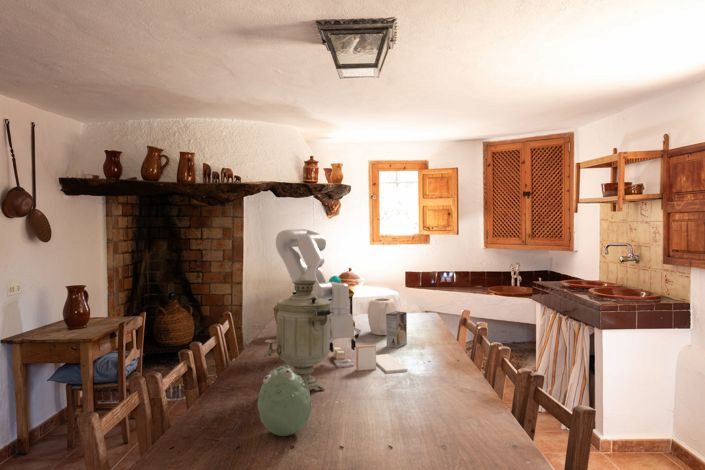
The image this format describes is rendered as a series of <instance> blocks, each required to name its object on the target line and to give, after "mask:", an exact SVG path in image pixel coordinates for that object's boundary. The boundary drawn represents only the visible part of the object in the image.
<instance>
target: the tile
mask: <svg viewBox="0 0 705 470" xmlns="http://www.w3.org/2000/svg"><path fill="white" fill-rule="evenodd" d="M355 350H356V351H355V353H356V354H355V358H356V359H355V364H356V365H355V370H356V371H357V372H363V371H364V370H365V371H374V370H375V371H377V364H376V355H377V345H376V344H364V345H361V344H360V345H356V347H355Z"/></svg>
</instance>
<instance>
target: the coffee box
mask: <svg viewBox="0 0 705 470" xmlns="http://www.w3.org/2000/svg"><path fill="white" fill-rule="evenodd" d="M407 315H408V314H407V312H406V311H399V310H397V311H395V312H392V313H388V314H386V328H387V335H386V347H390V348H395V349H398V348H400V347H402V346H403V347H404V346H406V345H407V344H408V343H407V341H408V338H407V336H408V334H407V333H408V331H407V328H408V327H407V326H408V325H407V324H408V323H407V322H408V320H407Z"/></svg>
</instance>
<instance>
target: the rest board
mask: <svg viewBox="0 0 705 470" xmlns="http://www.w3.org/2000/svg"><path fill="white" fill-rule="evenodd" d="M376 366H378V367H379V368H380V369H381V370H382V371H383V372H384V373H385V374H391V373H393V374H394V373H402V372H404V373H405V372H408V368H407V367H406V366H404V365H403V364H402V363H400V362H399V361H398V360H396V359H395V358H394V357H392V355H390V354H389V353H383V354H382V353H381V354H376Z"/></svg>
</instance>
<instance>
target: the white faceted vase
mask: <svg viewBox="0 0 705 470" xmlns="http://www.w3.org/2000/svg"><path fill="white" fill-rule="evenodd" d="M397 309H398V308H397V305H396V302H395V300H394V299H393V298H390V297H374V298H372V299H370V300H369V303H368V307H367V319H368V326H369V329H370V332H371V334H372V335H377V336H387V328H386V314H388V313H392V312H395V311H398V310H397Z"/></svg>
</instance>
